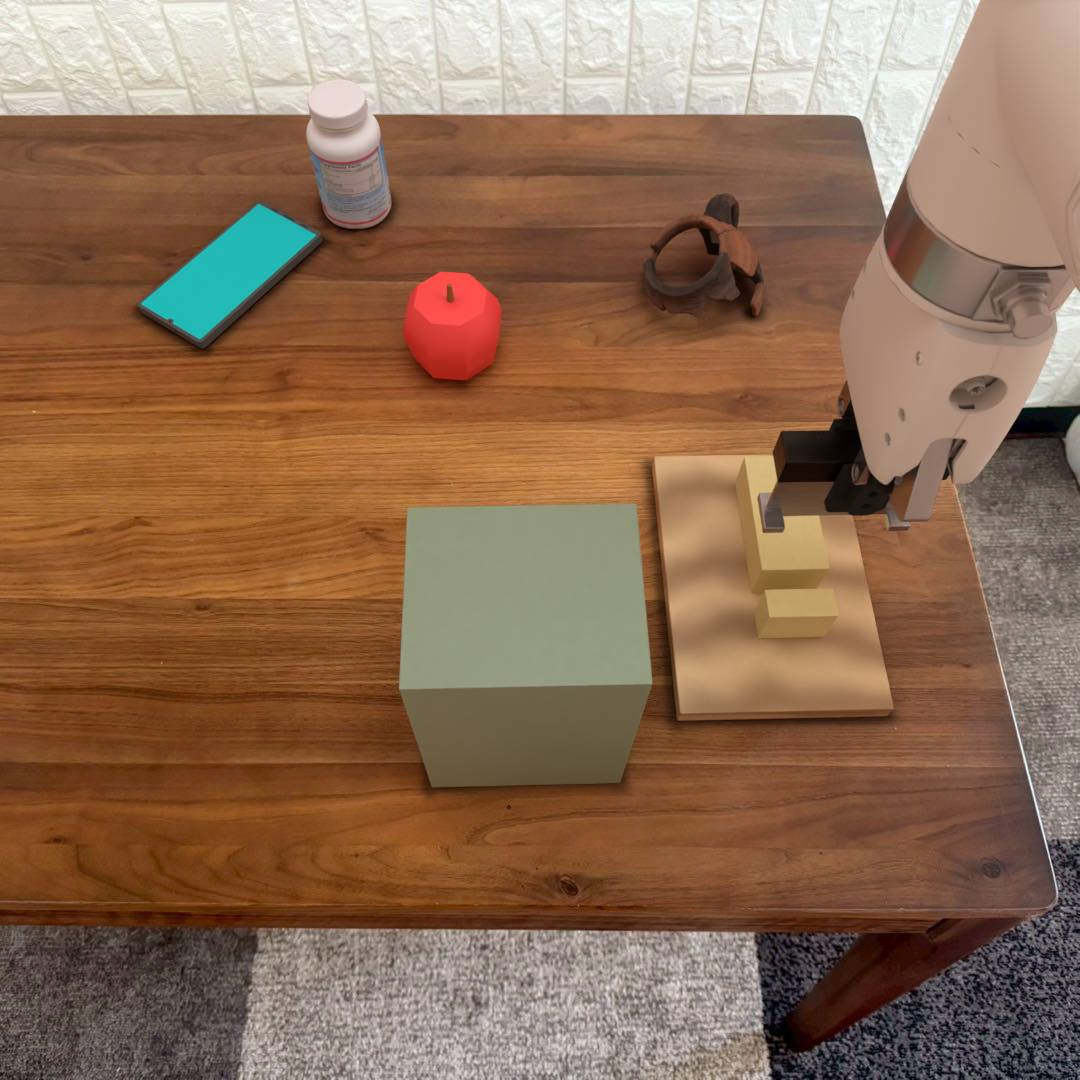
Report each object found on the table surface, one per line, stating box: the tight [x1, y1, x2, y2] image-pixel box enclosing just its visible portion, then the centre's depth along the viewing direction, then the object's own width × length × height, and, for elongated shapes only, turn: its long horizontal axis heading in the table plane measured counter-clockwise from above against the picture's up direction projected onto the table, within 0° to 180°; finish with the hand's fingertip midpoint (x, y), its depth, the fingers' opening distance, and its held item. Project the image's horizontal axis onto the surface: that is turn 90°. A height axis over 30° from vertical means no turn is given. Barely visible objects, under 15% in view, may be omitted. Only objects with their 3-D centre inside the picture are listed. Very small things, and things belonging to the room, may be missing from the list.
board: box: [651, 453, 895, 722], centre depth 68 cm, size 20×14×2 cm
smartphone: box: [136, 200, 324, 349], centre depth 81 cm, size 7×1×15 cm
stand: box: [398, 503, 653, 788], centre depth 56 cm, size 10×12×18 cm
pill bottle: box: [305, 78, 392, 230], centre depth 81 cm, size 6×6×11 cm
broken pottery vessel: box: [642, 192, 764, 321], centre depth 80 cm, size 12×10×8 cm
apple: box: [402, 271, 503, 381], centre depth 74 cm, size 8×8×8 cm
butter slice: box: [754, 588, 838, 638], centre depth 63 cm, size 2×4×4 cm, turn 91°
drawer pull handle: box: [757, 429, 950, 533], centre depth 52 cm, size 2×9×7 cm, turn 92°
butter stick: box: [735, 456, 829, 593], centre depth 67 cm, size 9×4×4 cm, turn 2°
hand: (848, 484), depth 53 cm, fingers closed on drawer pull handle, 2 cm apart
